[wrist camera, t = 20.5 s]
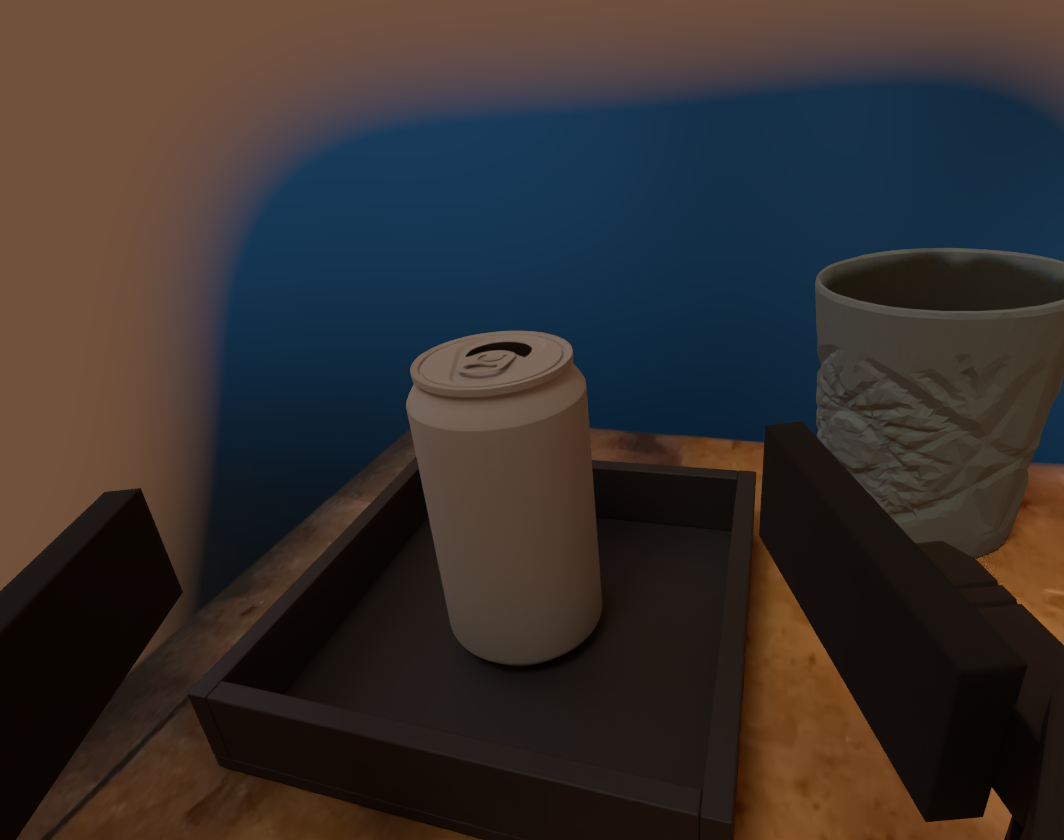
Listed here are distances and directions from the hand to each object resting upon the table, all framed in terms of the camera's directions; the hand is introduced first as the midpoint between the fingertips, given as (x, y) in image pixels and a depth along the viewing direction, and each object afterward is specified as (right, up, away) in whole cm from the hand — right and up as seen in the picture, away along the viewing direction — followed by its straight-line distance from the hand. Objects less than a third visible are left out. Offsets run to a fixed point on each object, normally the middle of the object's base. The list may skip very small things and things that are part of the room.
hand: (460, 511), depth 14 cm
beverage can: (+1, -7, +14) cm, 16 cm away
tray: (+1, -7, +14) cm, 16 cm away
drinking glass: (+20, -3, +19) cm, 28 cm away
